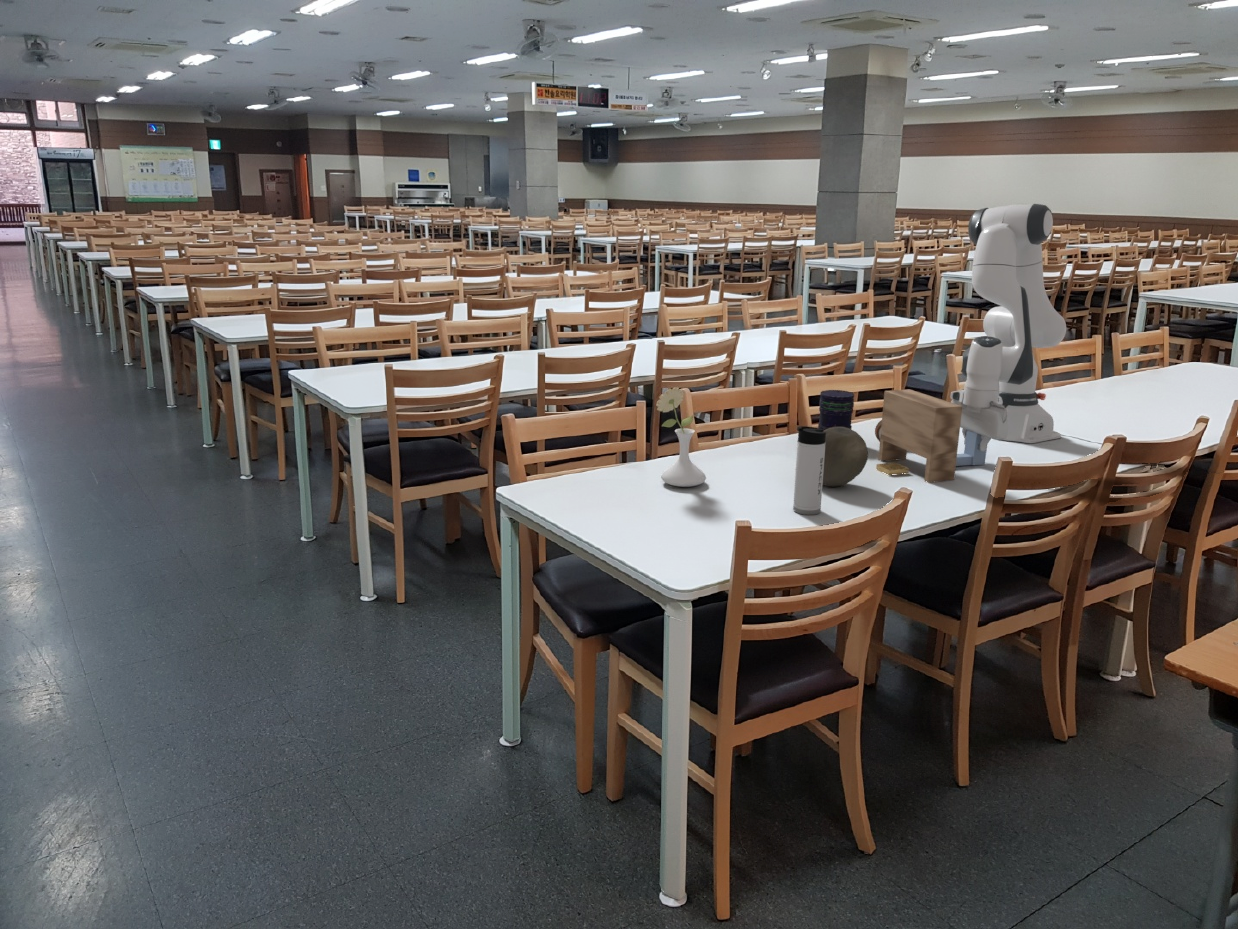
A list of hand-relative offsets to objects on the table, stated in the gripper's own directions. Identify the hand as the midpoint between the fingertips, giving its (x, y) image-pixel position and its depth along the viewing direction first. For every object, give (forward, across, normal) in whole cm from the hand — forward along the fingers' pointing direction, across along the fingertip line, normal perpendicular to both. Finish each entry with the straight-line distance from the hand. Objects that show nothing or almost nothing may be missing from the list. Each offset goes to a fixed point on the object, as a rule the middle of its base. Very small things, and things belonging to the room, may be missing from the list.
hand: (974, 447), depth 253 cm
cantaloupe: (+4, -6, +47) cm, 48 cm away
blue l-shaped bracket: (+4, 0, +6) cm, 7 cm away
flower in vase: (+4, +7, +84) cm, 84 cm away
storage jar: (+5, +31, +25) cm, 40 cm away
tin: (+5, +22, +8) cm, 24 cm away
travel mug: (+4, -21, +64) cm, 68 cm away
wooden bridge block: (+4, 0, +19) cm, 20 cm away
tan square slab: (+5, 0, +26) cm, 26 cm away
